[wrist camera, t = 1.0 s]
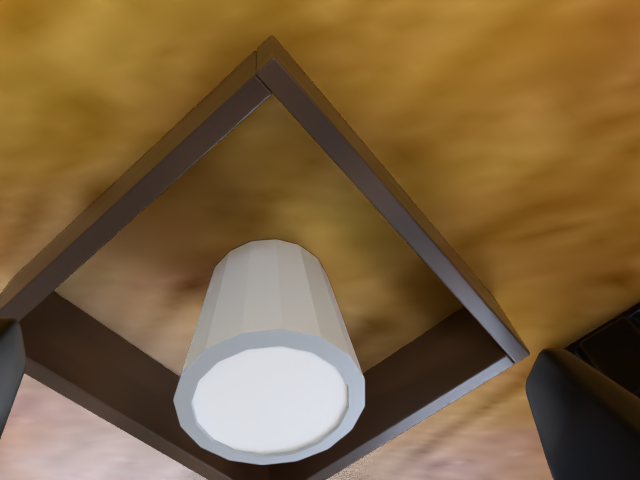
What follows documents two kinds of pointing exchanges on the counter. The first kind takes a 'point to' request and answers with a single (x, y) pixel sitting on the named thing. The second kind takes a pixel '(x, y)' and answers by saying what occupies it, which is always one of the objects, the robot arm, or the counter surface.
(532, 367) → the robot arm
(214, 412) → the shot glass
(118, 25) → the counter surface
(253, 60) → the brown square frame
